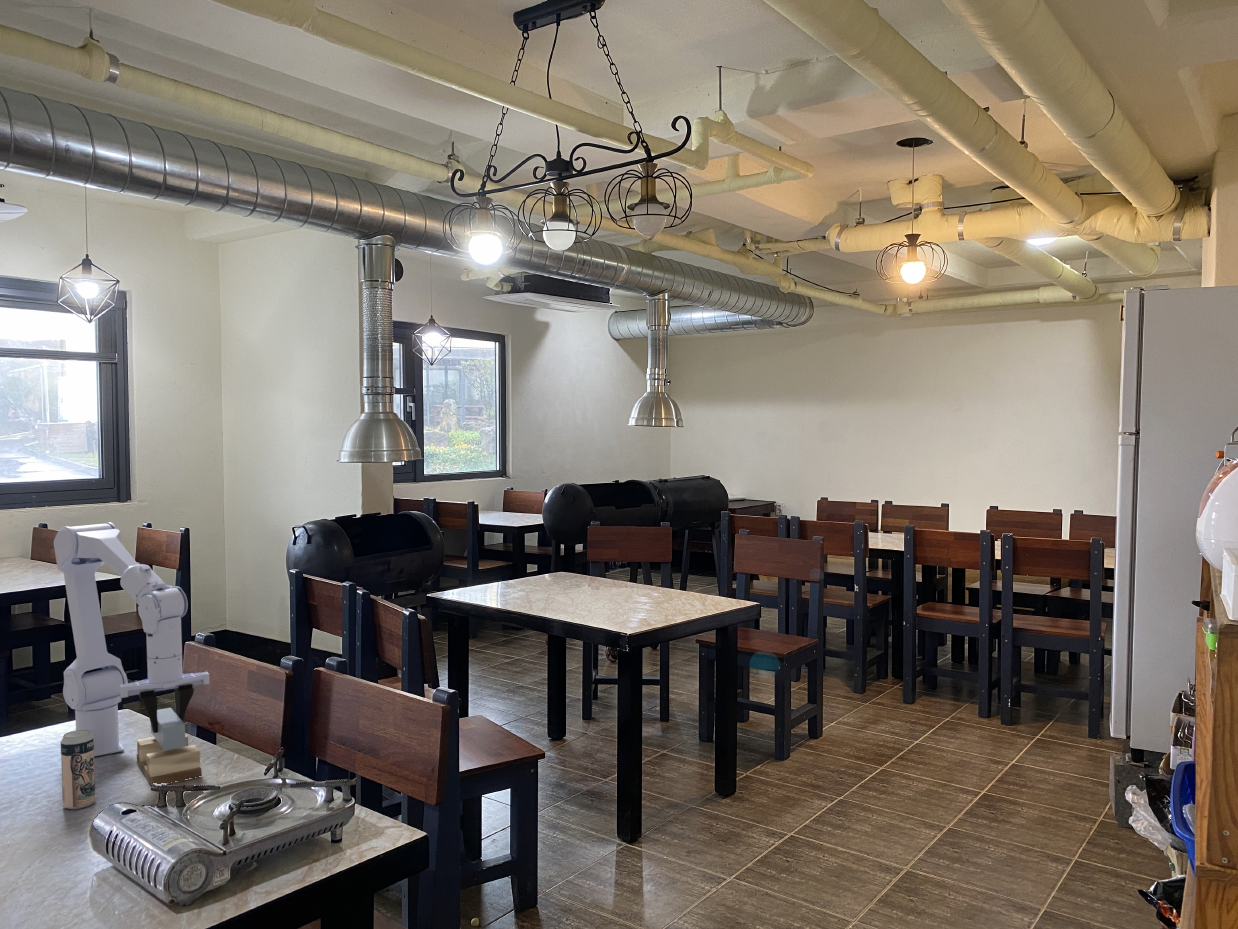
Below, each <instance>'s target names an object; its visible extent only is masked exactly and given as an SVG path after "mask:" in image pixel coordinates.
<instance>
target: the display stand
mask: <svg viewBox="0 0 1238 929" xmlns="http://www.w3.org/2000/svg"><path fill="white" fill-rule="evenodd" d="M136 744H137V745H136V746H137V751H136V752H137V754H136V763H137V765H138V766H139V768H140V770H141V772H142V773H143V775H144V777H145V779H146V780H147V782H148V783H149V785H150V786H151V784H153V783H157V784H161V783H171V782H172V783H171V784H175V783H174V782H175V781H179V782H178V783H181V782H185V781H186V780H185V779H189V778H195V777H199V776H202V777H203V775H202V774H203V773H202V768H201V751H200V749H199V748H198V747H197V745H196V744H192V745H189V736H188V735H187V733H186V732H185V745H186V747H181V748H175V749H170V750H165V751H164V750H163V749H162V747H161V746H160V744H159V743H158V742H157V740H156V739H155V737H154V736H151V737H150V736H149V737H145V738H140V739H136ZM199 778H200V777H199ZM195 779H196V778H195ZM184 780H185V781H184Z"/></svg>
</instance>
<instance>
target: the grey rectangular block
mask: <svg viewBox="0 0 1238 929" xmlns="http://www.w3.org/2000/svg"><path fill="white" fill-rule="evenodd" d="M157 719H158V733H154V732H153V731H152V726H151V725H150V733H151V734H152V737H155V739H156V740H157V742H158V743H159V744H160V746H161V747H162V749H163V750H164V751H165V750H170V749H175V748H181V747H186V745H185V733H186V724H185V722H184V720H183V721H182V720H181V719H180V718H179V717H178V716H177V714H176V711H174V710H173V708H172V707H166V708H162V709H160V708H159V709H157Z"/></svg>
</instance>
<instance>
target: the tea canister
mask: <svg viewBox="0 0 1238 929" xmlns="http://www.w3.org/2000/svg"><path fill="white" fill-rule="evenodd" d="M60 761H61V764H60V765H61V767H60V768H61V787H62V788H61V789H62V790H61V791H62V807H63V808H65V809H68V810H71V811H72V810H73V811H74V810H75V811H76V810H82V809H84V808H87V807H90V806H91V805H92V804H94V803H95V802H96V800H97V795H96V773H95V772H96V770H95V768H96V767H95V764H96V763H95V757H94V736H93V734H92V733H91V731H90V730H76V729H75V730H73V731H72V730H71V731H68V732H66V733H64V734H63V736H62V739H61V740H60Z"/></svg>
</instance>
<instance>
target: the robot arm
mask: <svg viewBox="0 0 1238 929" xmlns="http://www.w3.org/2000/svg"><path fill="white" fill-rule="evenodd" d="M121 532H122V531H120V530H119V529H118V527H117V526H116V524H114V523H113V522H108V521H107V522H104V523H96V524H88V525H87V524H85V525H76V526H66V525H65V526H61V528H60V529H59V530H58V531H57V533H56V536H55V537H54V540H53V548H54V555H55V560H56V561H55V562H56V565H57V566H56V567H57V570H58V571H60V572H62V573H63V576H64V577H63V578H64V584H65V590H66V598H67V604H68V610H69V615H70V622H71V628H72V629H71V630H72V634H73V642H74V647H75V654H76V658H75V660H73V662H72V663H71V664H70V665H69V666H67V667H66V669H65V670H64V671H63V688H62V693H63V698H64V701H65V703H66V704H67V705H68V706H69V708H70V709H72V710H74V713H75V717H74V718H75V731H76V730H90V731H91V733H92V734H93V736H94V758H95V757H100V756H105V755H110V754H115V753H121V752H124V751H125V748H124V746H123V744H122V743H121V741H120V737H119V736H120V735H119V734H120V733H119V710H118V709H119V708H118V706H119V703H121V702H122V699H123V698H129V697H130V696H131V697H132V696H136V695H137V696H138V698H139V699H140V701H141V702H142V704H143V707H144V708H145V711H146V713H147V715H148V718H149V721H150V727H151V726H152V731H153V732H154V733H158V719H157V710H158V697H157V693H156V692H161V691H167V690H173V689H174V696H175V697H174V698H175V713H176V714H177V716H178V717H179V718H180V719H181V720H182V721H183V722H184V720H185V715H186V711H187V708H188V706H189V703H190V702H191V700H192V697H193V696H194V692H195V689H194V686H198V685H203V686H204V685H205V686H206V685H209V684H211V683H210V673H209V672H208V671H204V672H202V671H201V672H194V673H183V642H182V639H183V638H182V637H183V636H182V618H183V617H184V616H185V615H186V614H187V612H188V606H189V605H188V604H189V601H188V598H187V594H186V593H185V592H184V590H183V588H182V587H180V586H173V585H171V584H170V585H168V584H166V583H165V581H164V580H163V579H162V578H161V577H160V576H159V575H158V574H157V573H155V571H154V570H153V569H152V568H151V566H149V565H148V564H144V563H139V564H138V563H137V561H136V560H135V558H133V556H132V555H131V554H130V553H129V551H128V550H127V549H126V547H125V546H124V545H123V543H122V542H123V540H122V533H121ZM105 564H106V565H107V566H108V567H109V568H110V569H111V570H112V571H114V572H115V573H116V574H118V576H120V583H119V584H120V586H121V588H122V589H123V590H124V591H125V592H126V594H128V596H130V598H131V599H132V600H133V601H134V602H135V603H136V604H137V605H138V606H137V612H138V616H139V617H140V619H141V624H142V629H143V632H144V633H145V634H146V663H147V664H146V666H147V678H145V679H142V680H138V681H134V682H129V681H128V676H127V673H125V671H124V670H125V669H124V667H123V665H122V660H121V659H120V658H119V657H117V656H116V655H113V654H111V653H109V652H108V648H107V643H106V636H105V630H104V624H103V618H102V613H101V608H100V599H99V593H98V588H97V582H96V576H95V575H96V573H97V571H98V569H99V568H100V567H101V566H104V565H105ZM95 669H99V670H95ZM92 670H95V671H92ZM87 671H88V672H87ZM89 671H91V672H89Z"/></svg>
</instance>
